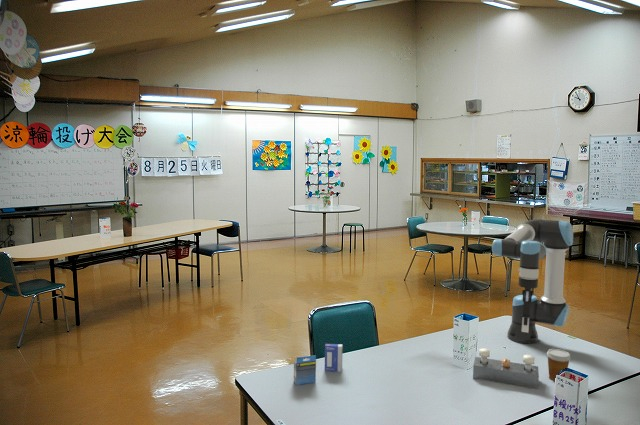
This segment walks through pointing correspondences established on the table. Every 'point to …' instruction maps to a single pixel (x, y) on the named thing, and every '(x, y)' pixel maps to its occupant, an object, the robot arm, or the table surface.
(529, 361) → the knob
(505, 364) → the dial
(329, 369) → the walkman
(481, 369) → the console
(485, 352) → the knob
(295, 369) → the label tape box
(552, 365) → the disposable coffee cup
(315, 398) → the table surface
